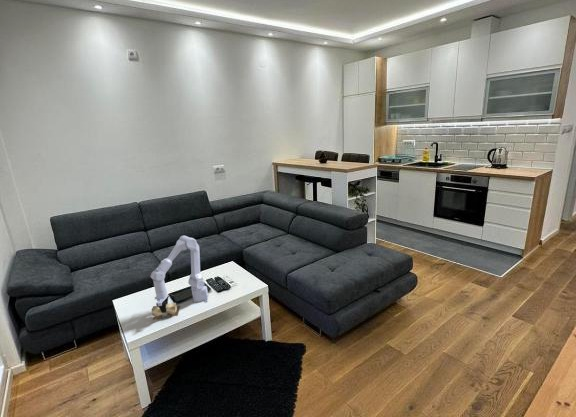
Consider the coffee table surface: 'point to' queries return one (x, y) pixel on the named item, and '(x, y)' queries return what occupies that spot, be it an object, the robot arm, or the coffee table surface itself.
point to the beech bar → (169, 309)
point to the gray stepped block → (165, 315)
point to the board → (170, 315)
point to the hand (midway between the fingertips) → (164, 310)
